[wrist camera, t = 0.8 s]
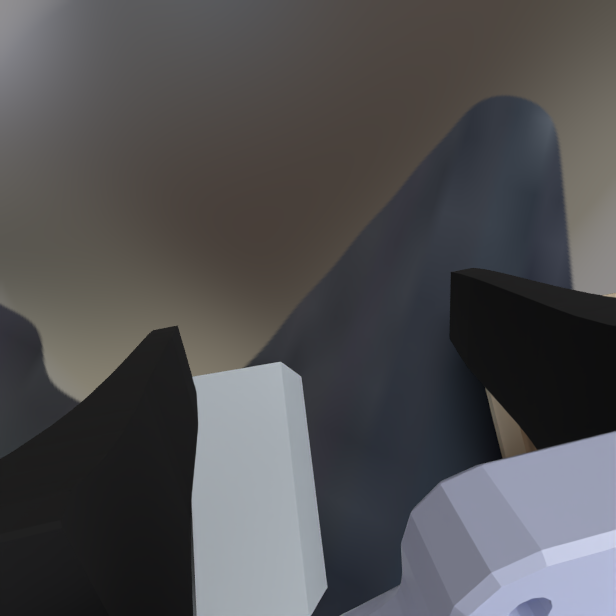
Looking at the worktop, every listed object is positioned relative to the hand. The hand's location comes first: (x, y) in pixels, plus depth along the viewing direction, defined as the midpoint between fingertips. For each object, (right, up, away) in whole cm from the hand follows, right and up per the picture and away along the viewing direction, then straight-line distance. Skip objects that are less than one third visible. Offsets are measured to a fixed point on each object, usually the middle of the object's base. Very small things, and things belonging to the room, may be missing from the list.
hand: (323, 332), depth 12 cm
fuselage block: (-2, -9, +14) cm, 17 cm away
